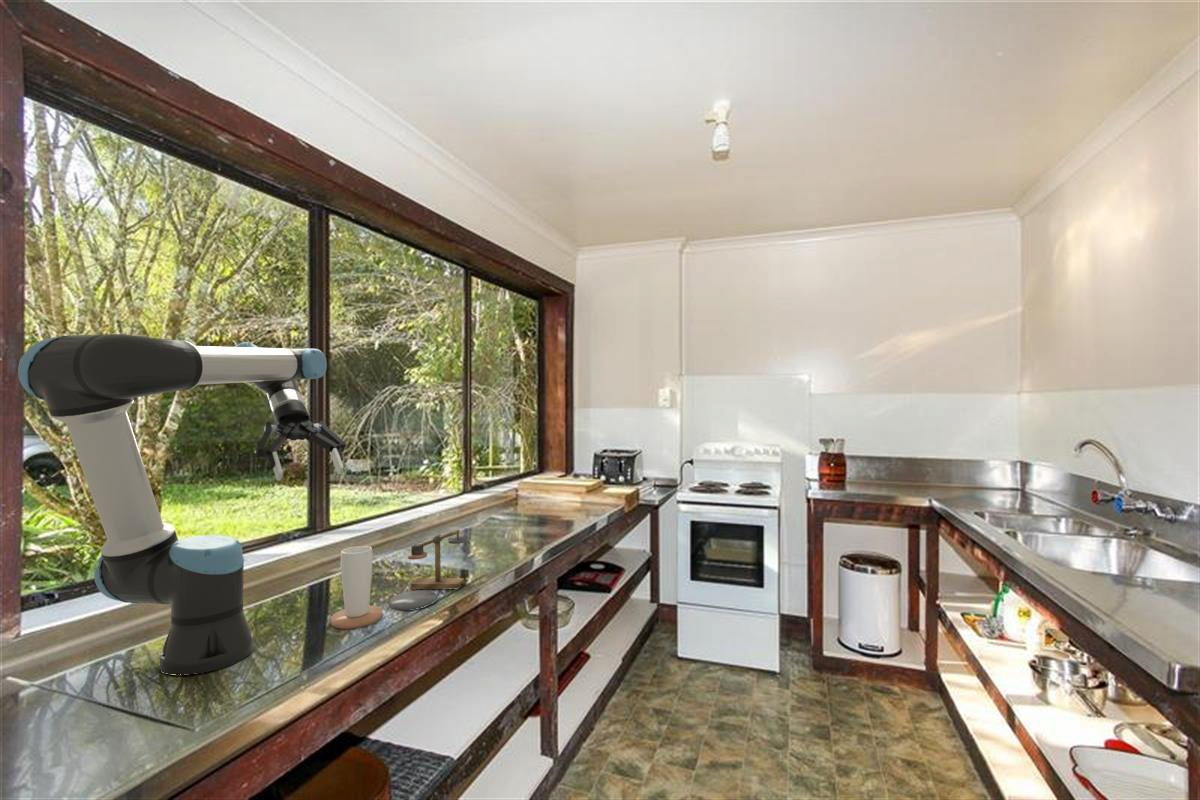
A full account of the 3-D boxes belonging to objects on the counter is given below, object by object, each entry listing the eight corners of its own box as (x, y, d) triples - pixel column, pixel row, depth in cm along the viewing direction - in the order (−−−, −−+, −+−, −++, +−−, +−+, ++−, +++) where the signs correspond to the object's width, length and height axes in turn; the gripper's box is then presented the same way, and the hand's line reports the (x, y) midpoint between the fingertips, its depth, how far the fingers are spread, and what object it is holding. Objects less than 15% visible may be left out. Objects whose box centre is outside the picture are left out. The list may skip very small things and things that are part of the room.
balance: (405, 589, 147) (404, 531, 148) (412, 583, 152) (411, 527, 153) (464, 589, 147) (463, 531, 147) (470, 583, 152) (469, 527, 152)
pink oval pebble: (320, 628, 122) (320, 623, 122) (346, 610, 133) (346, 605, 133) (368, 629, 121) (368, 623, 121) (390, 610, 132) (390, 605, 132)
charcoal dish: (382, 610, 132) (382, 605, 132) (401, 594, 143) (401, 590, 143) (427, 610, 132) (426, 605, 132) (442, 594, 143) (442, 590, 143)
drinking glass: (338, 613, 128) (337, 548, 128) (368, 606, 132) (368, 544, 132) (344, 622, 122) (344, 555, 123) (376, 614, 127) (375, 549, 127)
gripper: (335, 420, 152) (359, 478, 141) (230, 422, 134) (248, 490, 123) (343, 400, 148) (368, 459, 138) (236, 400, 130) (255, 468, 120)
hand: (311, 473), depth 131 cm, fingers open, 13 cm apart
